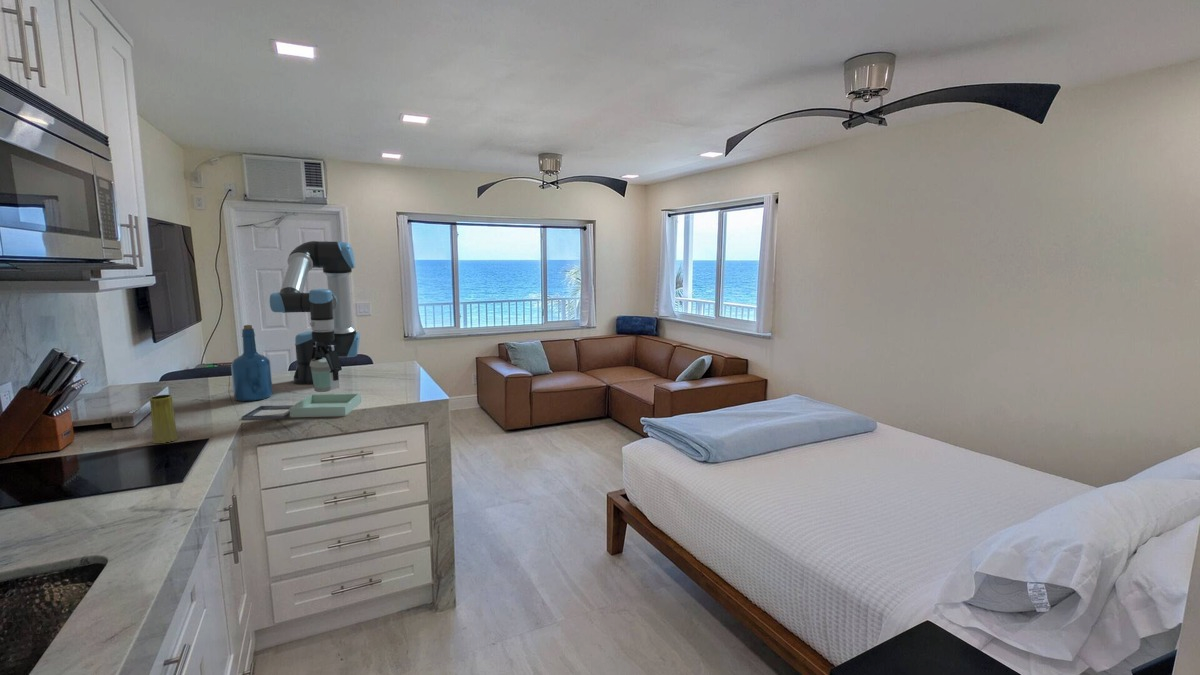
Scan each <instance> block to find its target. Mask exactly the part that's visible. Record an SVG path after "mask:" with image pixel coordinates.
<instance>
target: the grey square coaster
mask: <svg viewBox="0 0 1200 675" xmlns="http://www.w3.org/2000/svg"><path fill="white" fill-rule="evenodd" d="M293 405H294V404H289V405H286V404H283V405H260V406H258V407H256V408H255V409H253V410H251V411H250V412H248V413H246V414H245V415H242V416H241V420H245V421H246V420H249V421H251V420H284V419H286V418H287V417H288V416H289V417H290V407H292V406H293ZM284 409H285V410H286V409H288V410H287V411H285V412H284V413H282V414H276V415H275V414H273V415H255V414H257V413H259V412H261V411H262V410H284Z"/></svg>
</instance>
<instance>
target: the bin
mask: <svg viewBox="0 0 1200 675" xmlns="http://www.w3.org/2000/svg"><path fill="white" fill-rule="evenodd" d="M360 402H361V403H362V393H359V392H358V393H313V394H312V393H311V394H309V395H307V396H306V397H304V398H303V399H301V400H300V401H298V402H296V403H295V404H292V405H293V406H292V407H290V409H289V410H290V415H289V417H290V418H317V417H318V418H320V417H321V418H323V417H325V418H326V417H347V415H349V414H350V413H351V412H352V411H353V410H354V409H355V408H356V407H357V406H359V405H360V404H361V403H360ZM359 403H360V404H359Z"/></svg>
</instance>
